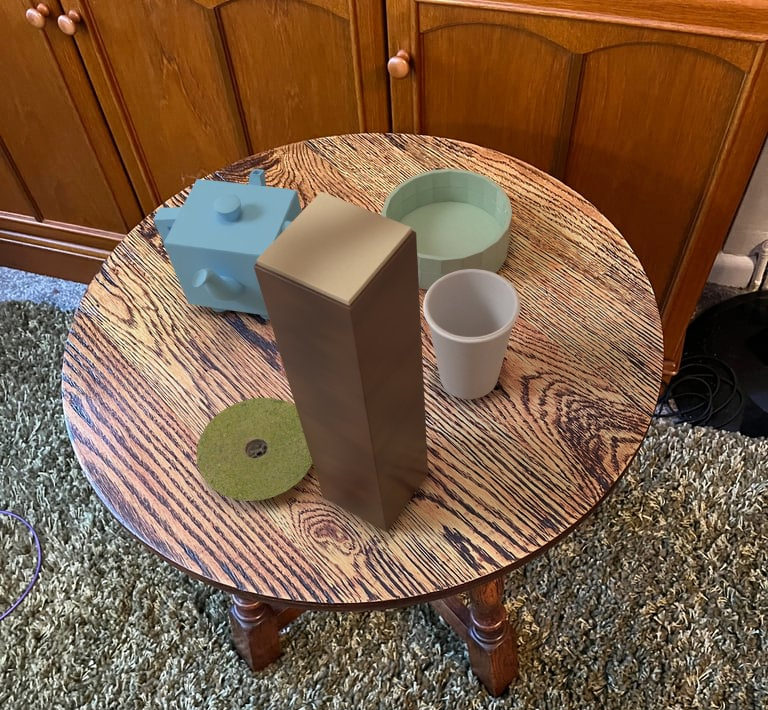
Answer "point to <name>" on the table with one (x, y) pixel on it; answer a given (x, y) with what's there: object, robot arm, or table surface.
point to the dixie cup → (470, 329)
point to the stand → (352, 351)
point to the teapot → (225, 239)
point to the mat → (254, 450)
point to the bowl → (453, 221)
